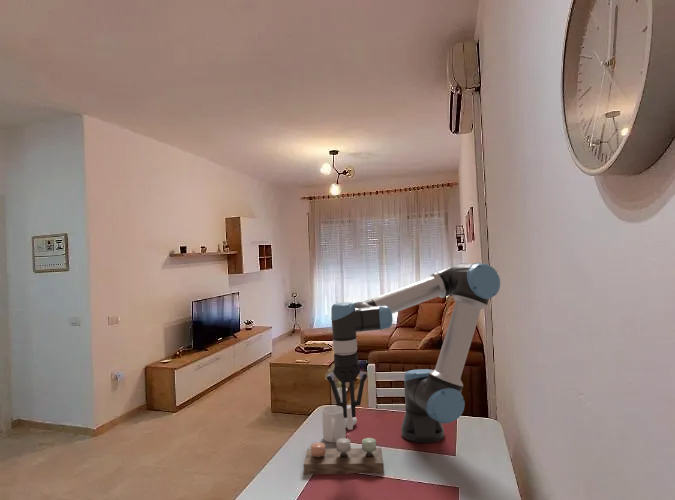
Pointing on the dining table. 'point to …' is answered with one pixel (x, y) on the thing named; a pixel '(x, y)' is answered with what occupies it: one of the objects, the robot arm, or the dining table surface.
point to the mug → (333, 423)
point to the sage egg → (369, 445)
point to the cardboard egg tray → (344, 462)
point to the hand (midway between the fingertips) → (350, 427)
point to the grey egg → (343, 446)
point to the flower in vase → (340, 393)
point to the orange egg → (318, 450)
